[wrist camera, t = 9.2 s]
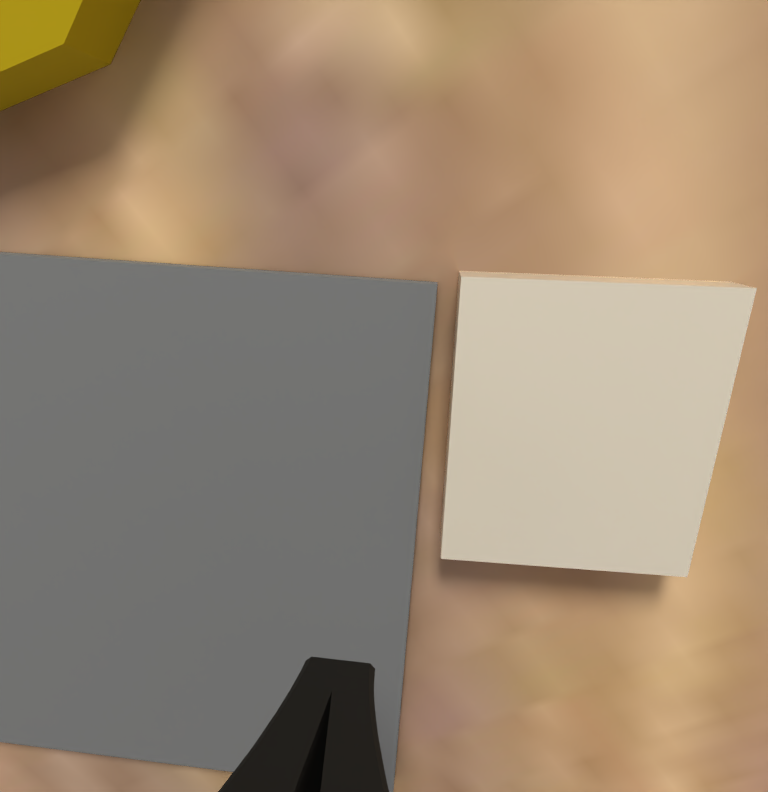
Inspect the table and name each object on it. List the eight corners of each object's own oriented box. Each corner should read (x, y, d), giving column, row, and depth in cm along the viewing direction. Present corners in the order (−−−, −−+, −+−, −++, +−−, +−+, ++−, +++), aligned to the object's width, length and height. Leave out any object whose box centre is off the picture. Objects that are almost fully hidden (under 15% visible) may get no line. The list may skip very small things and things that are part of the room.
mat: (394, 780, 18) (393, 792, 18) (-71, 721, 19) (-81, 731, 19) (437, 282, 13) (437, 284, 13) (-203, 238, 14) (-220, 239, 14)
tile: (440, 524, 16) (662, 540, 15) (440, 558, 14) (687, 577, 14) (458, 268, 13) (719, 278, 13) (460, 276, 12) (756, 288, 11)
